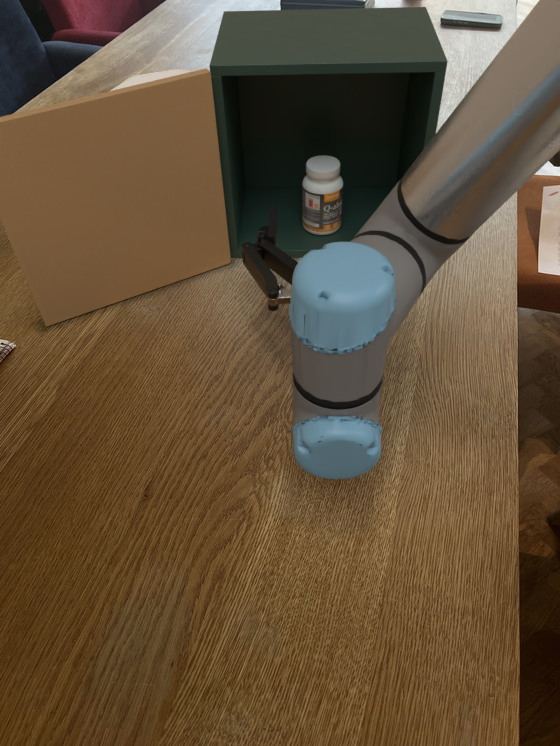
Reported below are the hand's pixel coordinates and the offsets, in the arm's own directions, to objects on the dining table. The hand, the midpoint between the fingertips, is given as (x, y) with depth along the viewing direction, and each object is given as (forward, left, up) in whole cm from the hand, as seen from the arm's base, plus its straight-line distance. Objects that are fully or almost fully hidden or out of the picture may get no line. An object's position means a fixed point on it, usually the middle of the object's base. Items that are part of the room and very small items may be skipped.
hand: (328, 214), depth 75 cm
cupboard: (+6, -13, -11) cm, 18 cm away
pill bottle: (+5, -11, -10) cm, 15 cm away
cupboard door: (+25, +10, -11) cm, 29 cm away
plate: (+51, -40, -11) cm, 66 cm away
